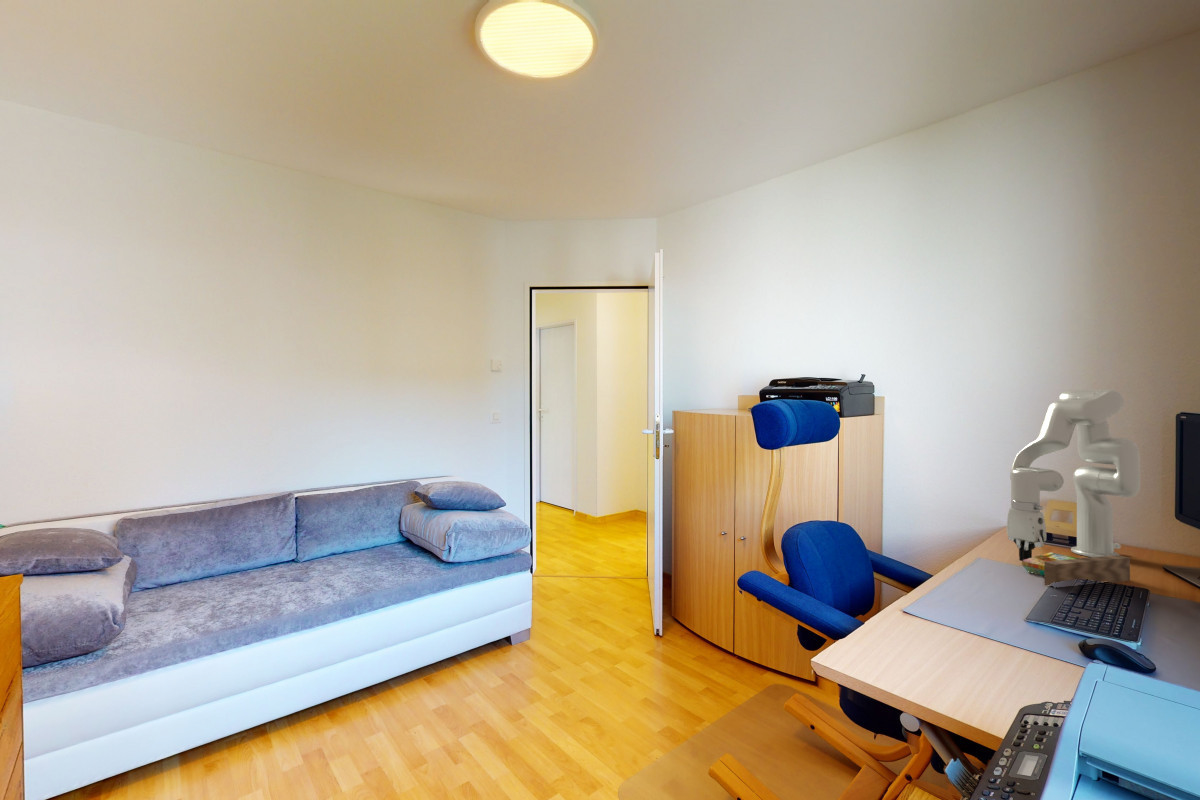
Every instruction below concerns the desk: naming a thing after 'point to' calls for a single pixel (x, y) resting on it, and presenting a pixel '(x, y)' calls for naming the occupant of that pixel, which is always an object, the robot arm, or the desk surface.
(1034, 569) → the puzzle game
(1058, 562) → the rail
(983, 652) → the desk surface
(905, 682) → the desk surface
